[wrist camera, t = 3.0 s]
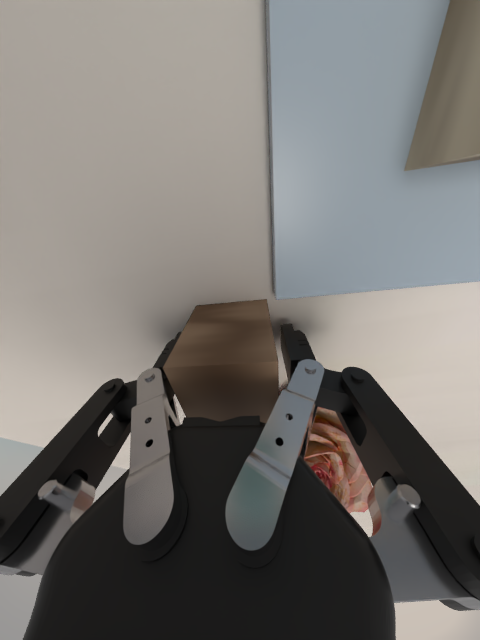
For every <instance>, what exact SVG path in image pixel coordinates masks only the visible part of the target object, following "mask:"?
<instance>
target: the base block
mask: <svg viewBox="0 0 480 640" xmlns="http://www.w3.org/2000/svg"><path fill="white" fill-rule="evenodd" d="M475 160H480V0H450V3H449V7H448V10H447V14H446V18H445V21H444V25H443V29H442V32H441V36H440V40H439V44H438V47H437V51H436V55H435V58H434V62H433V66H432V70H431V73H430V77H429V81H428V84H427V88H426V92H425V95H424V99H423V103H422V107H421V110H420V114H419V118H418V121H417V125H416V129H415V132H414V136H413V140H412V144H411V147H410V151H409V155H408V158H407V162H406V166H405V169H404V171H409V170H416V169H422V168H429V167H435V166H442V165H449V164H455V163H462V162H468V161H475Z"/></svg>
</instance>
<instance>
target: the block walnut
mask: <svg viewBox="0 0 480 640" xmlns="http://www.w3.org/2000/svg"><path fill="white" fill-rule="evenodd" d="M163 370H164V372H165V374H166V376H167V378H168V380H169V382H170V384H171V386H172V388H173V391H174V393H175V395H176V397H177V399H178V401H179V403H180V405H181V407H182V409H183V411H184V413H185V415H186V417H204V418H208V419H212V420H215V421H225V420H228V419H232V418H235V417H239V416H260V422H263V423H267V421H268V419H269V417H270V415H271V412H272V410H273V408H274V406H275V404H276V402H277V400H278V398H279V380H278V358H277V353H276V347H275V342H274V336H273V331H272V326H271V320H270V315H269V310H268V304H267V299H264V300H253V301H242V302H231V303H220V304H210V305H199V306H196V307H195V309H194V311H193V313H192V315H191V316H190V318H189V320H188V322H187V324H186V326H185V328H184V329H183V331H182V333H181V335H180V337H179V339H178V341H177V342H176V344H175V346H174V348H173V350H172V352H171V354H170V355H169V357H168V359H167V361H166V363H165V365H164V367H163Z"/></svg>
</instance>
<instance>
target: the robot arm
mask: <svg viewBox="0 0 480 640" xmlns="http://www.w3.org/2000/svg"><path fill="white" fill-rule="evenodd" d="M181 333H182V332H179V333H178V334H177V336H176V338H175V339H172V340H171V341H170V342H169V343H168V344H167V345H166V347H165V348H164V350H163V352H162V354H161V355H160V356H159V358H158V360H157V361H156V363H155V365H154V366H153V368H151V369H148V370H146V371H144V372H143V373H142V374H141V375H140V376H139V377H138V379H137V380H135V381H132V382H128V383H124V382H123V380H122V379H119V378H117V379H112V380H110V381H108V382H106V383H105V384H103V385H102V386H101V387H100V388H99V389H98V390H97V391H96V392H95V393H94V394H93V396H92V397H91V398H90V399H89V400H88V401H87V402H86V403H85V404H84V405H83V407H82V408H81V409H80V410H79V411H78V412H77V413H76V414H75V415H74V416H73V417H72V419H71V420H70V421H69V422H68V423H67V424H66V425H65V426H64V427H63V428H62V429H61V431H60V432H59V433H58V434H57V435H56V436H55V437H54V438H53V439H52V440H51V442H50V443H49V444H48V445H47V446H46V447H45V448H44V450H42V451H41V453H40V454H39V455H38V456H37V457H36V458H35V459H34V460H33V461H32V462H31V464H29V466H28V467H27V468H26V469H25V470H24V471H23V472H22V473H21V474H20V476H19V477H18V478H17V479H16V480H15V481H14V482H13V483H12V484H11V485H10V486H9V487H8V489H7V490H6V491H5V492H4V493H3V494H2V495H1V496H0V574H4V575H14V574H17V575H22V576H33V575H35V574H40V575H43V577H42V580H41V583H40V587H39V590H38V594H37V598H36V602H35V606H34V609H33V612H32V615H31V619H30V622H29V625H28V627H27V630H26V633H25V635H24V638H23V640H396V636H395V608H394V603H400V602H415V601H431V600H439V601H440V602H442V603H443V604H444V605H446V606H448V607H449V608H452V609H454V610H458V611H463V610H480V506H479V504H478V503H477V502H476V501H475V500H474V498H473V497H472V496H471V495H470V494H469V492H468V491H467V490H466V489H465V488H464V486H463V485H462V484H461V483H460V482H459V480H458V479H457V478H456V477H455V476H454V474H453V473H452V472H451V471H450V470H449V468H448V467H447V466H446V465H445V464H444V462H443V461H442V460H441V459H440V458H439V456H438V455H437V454H436V453H435V452H434V450H433V449H432V448H431V447H430V446H429V444H428V443H427V442H426V441H425V440H424V438H423V437H422V436H421V435H420V434H419V432H418V431H417V430H416V429H415V428H414V426H413V425H412V424H411V423H410V422H409V420H408V419H407V418H406V417H405V416H404V414H403V413H402V412H401V411H400V410H399V408H398V407H397V406H396V405H395V404H394V402H393V401H392V400H391V399H390V398H389V396H388V395H387V394H386V393H385V391H384V390H383V389H382V388H381V387H380V385H379V384H378V383H377V382H376V381H375V379H374V378H373V377H372V376H371V375H370V374H369V373H368V372H366V371H365V370H363V369H360V368H357V367H347V368H345V369H344V370H343V371H342V373H341V372H336V371H331V370H328V369H325V368H324V367H323V366H322V365H321V364H320V363H319V362H317V361H316V359H315V357H314V354H313V352H312V350H311V347H310V345H309V343H308V341H307V338H306V336H305V334H304V333H303V332H301V331H300V330H297V331H294V329H293V326H292V324H283V325H281V350H282V354H283V359H284V363H285V368H286V372H287V377H288V381H289V384H288V387H287V388H286V389H283V390H282V392H281V394H280V396H279V398H278V400H277V402H276V404H275V406H274V408H273V410H272V412H271V415H270V417H269V419H268V421H267V423H263V422H260V416H239V417H235V418H232V419H228V420H225V421H215V420H212V419H208V418H204V417H186V418H184V420H183V423H182V424H181V425H180V421H179V417H178V412H177V407H176V402H175V399H174V394H175V393H174V391H173V388H172V386H171V384H170V382H169V380H168V378H167V376H166V374H165V372H164V370H163V367H164V365H165V363H166V361H167V359H168V357H169V355H170V354H171V352H172V350H173V348H174V346H175V344H176V342H177V341H178V339H179V337H180V335H181ZM318 407H321V408H325V409H328V410H332V411H335V412H336V414H337V416H338V418H339V420H340V422H341V424H342V426H343V428H344V430H345V432H346V434H347V436H348V438H349V440H350V442H351V444H352V446H353V448H354V450H355V451H356V453H357V455H358V457H359V459H360V461H361V463H362V465H363V467H364V469H365V471H366V473H367V475H368V477H369V479H370V481H371V483H372V485H373V488H372V489H371V491H370V493H369V494H368V499H367V503H368V509H369V512H370V515H371V518H372V522H373V533H372V536H371V537H368V536H367V534H366V533H365V532H364V530H363V529H362V528H361V526H360V525H359V524H358V523H357V522H356V520H355V519H354V518H353V517H352V516H351V515H350V513H349V512H348V511H347V510H346V509H345V507H344V506H343V505H342V504H341V503H340V502H339V500H338V499H337V498H336V497H335V496H334V495H333V493H332V492H331V491H330V490H329V489H328V487H327V486H326V485H325V484H324V483H323V482H322V480H321V479H320V478H319V477H318V476H317V474H316V473H315V472H314V471H313V470H312V469H311V467H310V466H309V465H308V464H307V463H306V462H305V460H304V459H305V455H306V451H307V448H308V444H309V439H310V435H311V431H312V427H313V423H314V420H315V416H316V413H317V409H318ZM110 413H111V414H112V415H113V418H112V419H111V420H110V422H109V423H108V425H107V426H106V427H105V429H104V430H103V431H102V433H101V434H100V436H99V437H98V430H99V428H100V426H101V425H102V423H103V422H104V421H105V419H106V418H107V417H108V415H109V414H110ZM130 432H131V442H130V468H129V469H128V470H127V471H126V472H125V473H124V474H123V475H122V476H121V477H120V478H119V479H118V480H117V481H116V482H115V483H114V484H113V485H112V486H111V487H110V488H109V489H108V490H107V491H106V492H105V493H104V494H103V495H102V496H101V497H100V498H99V499H98V500H96V502H94V503H93V500H94V497H95V490H96V488H97V487H98V485H99V484H100V482H101V480H102V479H103V477H104V475H105V473H106V472H107V470H108V469H109V467H110V465H111V464H112V462H113V460H114V459H115V457H116V455H117V454H118V452H119V450H120V449H121V447H122V445H123V444H124V442H125V440H126V439H127V437H128V435H129V434H130Z"/></svg>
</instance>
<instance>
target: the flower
mask: <svg viewBox="0 0 480 640" xmlns="http://www.w3.org/2000/svg"><path fill="white" fill-rule="evenodd" d="M304 460H305V462H306V463H307V464H308V465H309V466H310V467H311V469H312V470H313V471H314V472H315V473H316V474H317V476H318V477H319V478H320V479H321V480H322V482H323V483H324V484H325V485H326V486H327V487H328V489H329V490H330V491H331V492H332V493H333V495H334V496H335V497H336V498H337V499H338V500H339V502H340V503H341V504H342V505H343V506H344V507H345V509H346V510H347V511H348V512H349V513H351V512H354V511H355V512H365V511H366V510H367V509H368V503H367V499H368V494H369V493H370V491H371V489H372V485H371V482H370V479H369V477H368V475H367V473H366V471H365V469H364V467H363V465H362V463H361V461H360V459H359V457H358V455H357V453H356V451H355V450H354V448H353V446H352V444H351V442H350V440H349V438H348V436H347V434H346V432H345V430H344V428H343V426H342V424H341V422H340V420H339V418H338V416H337V414H336V412H335V411H332V410H328V409H325V408H321V407H318V409H317V413H316V416H315V420H314V423H313V427H312V431H311V435H310V439H309V444H308V448H307V451H306V455H305V459H304Z"/></svg>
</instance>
